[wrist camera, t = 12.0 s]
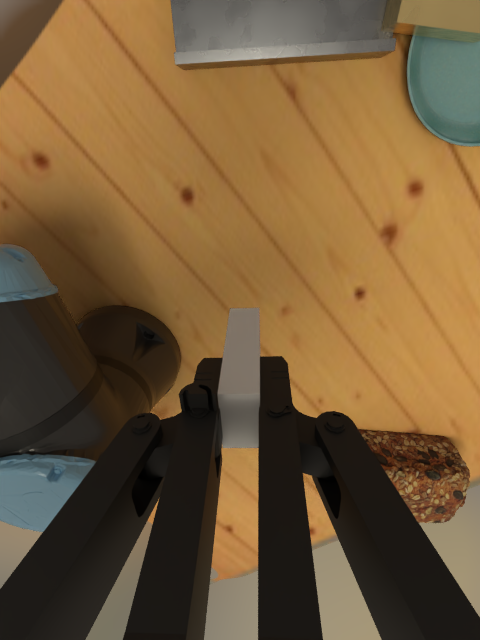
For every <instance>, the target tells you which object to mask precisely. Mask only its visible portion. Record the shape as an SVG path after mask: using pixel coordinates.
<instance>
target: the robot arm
mask: <svg viewBox="0 0 480 640" xmlns="http://www.w3.org/2000/svg"><path fill="white" fill-rule="evenodd" d="M57 292H58V288H57V286H56V285H54V284H52V283H51V282H50V280H49V279H48V277H47V275H46V274H45V272H44V271H43V269H42V268H41V266H40V265H39V263H38V262H37V260H36V258H35V257H34V256H33V255H32V254H31V253H30V252H29V251H28V250H26V249H25V248H23V247H20V246H17V245H13V244H0V521H3V522H5V523H8V524H10V525H13V526H17V527H20V528H24V529H29V530H33V531H39V532H43V533H42V535H41V536H40V537H39V538H38V540H37V541H36V542H35V544H34V545H33V547H32V548H31V549H30V550H29V552H28V553H27V555H26V556H25V557H24V558H23V560H22V561H21V562H20V564H19V565H18V567H17V568H16V569H15V570H14V572H13V573H12V574H11V576H10V577H9V578H8V580H7V581H6V582H5V584H4V585H3V586H2V588H1V589H0V640H85V639H86V637H87V636H88V633H89V632H90V630H91V628H92V626H93V624H94V622H95V620H96V618H97V616H98V614H99V612H100V611H101V609H102V607H103V605H104V603H105V601H106V599H107V597H108V595H109V593H110V591H111V589H112V587H113V586H114V584H115V582H116V580H117V578H118V576H119V574H120V572H121V570H122V568H123V566H124V564H125V562H126V560H127V558H128V557H129V555H130V553H131V551H132V549H133V547H134V545H135V543H136V541H137V539H138V537H139V536H140V534H141V532H142V530H143V528H144V526H145V524H146V522H147V520H148V518H149V516H150V514H151V512H152V511H153V509H154V507H155V505H156V503H157V501H158V499H159V502H158V506H157V510H156V514H155V518H154V522H153V525H152V530H151V533H150V537H149V541H148V545H147V549H146V553H145V557H144V561H143V565H142V568H141V572H140V576H139V580H138V584H137V588H136V592H135V596H134V599H133V604H132V608H131V611H130V615H129V619H128V623H127V627H126V631H125V634H124V638H123V640H204V633H205V632H204V631H205V623H206V613H207V603H208V593H209V584H210V574H211V564H212V554H213V544H214V535H215V525H216V515H217V505H218V495H219V485H220V476H221V466H222V454H221V448H222V445H223V448H259V502H258V579H259V580H258V640H323V637H322V628H321V621H320V612H319V604H318V596H317V587H316V579H315V571H314V563H313V556H312V546H311V538H310V530H309V522H308V514H307V506H306V497H305V489H304V481H303V473H305V474H308V475H312V478H313V481H314V483H315V485H316V488H317V490H318V492H319V495H320V497H321V499H322V502H323V504H324V506H325V509H326V511H327V513H328V515H329V518H330V520H331V522H332V525H333V527H334V529H335V532H336V534H337V536H338V539H339V541H340V543H341V546H342V548H343V550H344V553H345V555H346V557H347V560H348V562H349V564H350V567H351V569H352V571H353V574H354V576H355V578H356V581H357V583H358V585H359V588H360V590H361V592H362V595H363V597H364V599H365V602H366V604H367V606H368V609H369V611H370V613H371V616H372V618H373V620H374V622H375V625H376V627H377V629H378V632H379V634H380V637H381V639H382V640H480V617H479V616H478V614H477V613H476V611H475V610H474V608H473V606H472V605H471V603H470V602H469V600H468V599H467V597H466V596H465V594H464V593H463V591H462V590H461V588H460V586H459V585H458V583H457V582H456V580H455V579H454V577H453V576H452V574H451V573H450V571H449V569H448V568H447V566H446V565H445V563H444V562H443V560H442V559H441V557H440V556H439V554H438V552H437V551H436V549H435V548H434V546H433V545H432V543H431V542H430V540H429V539H428V537H427V535H426V534H425V532H424V531H423V529H422V528H421V526H420V525H419V523H418V521H417V520H416V518H415V517H414V515H413V514H412V512H411V511H410V509H409V508H408V506H407V504H406V503H405V501H404V500H403V498H402V497H401V495H400V494H399V492H398V491H397V489H396V487H395V486H394V484H393V483H392V481H391V480H390V478H389V477H388V475H387V474H386V472H385V470H384V469H383V467H382V466H381V464H380V463H379V461H378V460H377V458H376V457H375V455H374V453H373V452H372V450H371V449H370V447H369V446H368V444H367V443H366V441H365V440H364V438H363V436H362V435H361V433H360V432H359V430H358V429H357V427H356V426H355V424H354V422H353V421H352V420H351V419H350V418H349V417H348V416H346V415H344V414H342V413H339V412H335V411H332V412H325V413H322V414H321V415H319V416H318V417H317V418H314V417H310V416H307V415H304V414H302V413H300V412H299V411H298V410H297V409H296V408H295V407H294V406H293V403H292V396H291V388H290V380H289V373H288V363H287V362H286V361H285V360H284V358H283V357H282V356H273V357H260V319H259V308H230V312H229V319H228V326H227V333H226V339H225V346H224V353H223V358H204V359H203V360H202V361H201V362H200V363H199V364H198V366H197V370H196V374H195V378H194V382H193V383H192V384H189V385H187V386H185V387H184V388H183V389H182V390H181V391H180V393H179V397H180V403H181V409H182V412H181V413H180V414H178V415H176V416H173V417H170V418H166V419H162V420H160V419H159V418H158V416H157V415H155V414H152V413H150V411H151V409H152V408H153V407H154V406H155V405H156V404H157V403H158V401H159V400H160V399H161V398H162V397H163V396H164V395H165V394H166V393H167V392H168V391H169V390H170V389H171V388H172V386H173V384H174V382H175V380H176V378H177V374H178V371H179V368H180V362H181V356H180V350H179V346H178V344H177V342H176V340H175V338H174V336H173V335H172V333H171V332H170V331H169V329H168V328H167V327H166V326H165V325H164V324H163V323H161V322H160V321H159V320H158V319H156V318H155V317H153V316H152V315H150V314H148V313H146V312H144V311H141V310H138V309H135V308H131V307H126V306H107V307H102V308H98V309H96V310H93V311H91V312H90V313H88V314H87V315H85V316H84V317H83V318H82V319H81V320H80V321H79V322H78V323H77V324H75V322H74V321H73V319H72V317H71V315H70V314H69V312H68V310H67V309H66V307H65V305H64V303H63V302H62V300H61V298H60V296H59V295H58V293H57ZM159 497H160V498H159Z"/></svg>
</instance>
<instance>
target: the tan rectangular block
mask: <svg viewBox="0 0 480 640" xmlns="http://www.w3.org/2000/svg"><path fill="white" fill-rule="evenodd" d="M381 31H385V32H393V33H401V34H408V35H416V36H423V37H431V38H439V39H446V40H454V41H461V42H469V43H475V42H478V41H480V0H388V1H387V6H386V10H385V15H384V19H383V24H382V28H381Z"/></svg>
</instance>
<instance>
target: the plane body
mask: <svg viewBox="0 0 480 640" xmlns="http://www.w3.org/2000/svg"><path fill="white" fill-rule="evenodd" d="M387 1H388V0H171V9H172V18H173V27H174V37H175V46H176V52H175V53H174V57H175V64H176V65H177V66H179V67H180V68H182V69H183V70H191V69H207V68H224V67H240V66H256V65H272V64H288V63H304V62H320V61H336V60H353V59H369V58H381V57H383V56H385V55H387V54H389V53H391V52H393V51H395V43H396V38H392V37H393V32H385V31H381V28H382V24H383V19H384V15H385V10H386V6H387Z"/></svg>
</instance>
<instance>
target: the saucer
mask: <svg viewBox="0 0 480 640" xmlns="http://www.w3.org/2000/svg"><path fill="white" fill-rule="evenodd" d="M407 84H408V91H409V96H410V100H411V103H412V106H413V108H414V111H415V113H416V115H417V116H418V118H419V119H420V121H421V122H422V123H423V125H424V126H425V127H426V128H427V129H428V130H429V131H430V132H431V133H433V134H434V135H435V136H437V137H438V138H440V139H442V140H444V141H447V142H449V143H452V144H455V145H460V146H480V41H478V42H475V43H469V42H461V41H454V40H446V39H439V38H431V37H423V36H416V35H413V36H412V39H411V43H410V48H409V53H408V61H407Z"/></svg>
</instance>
